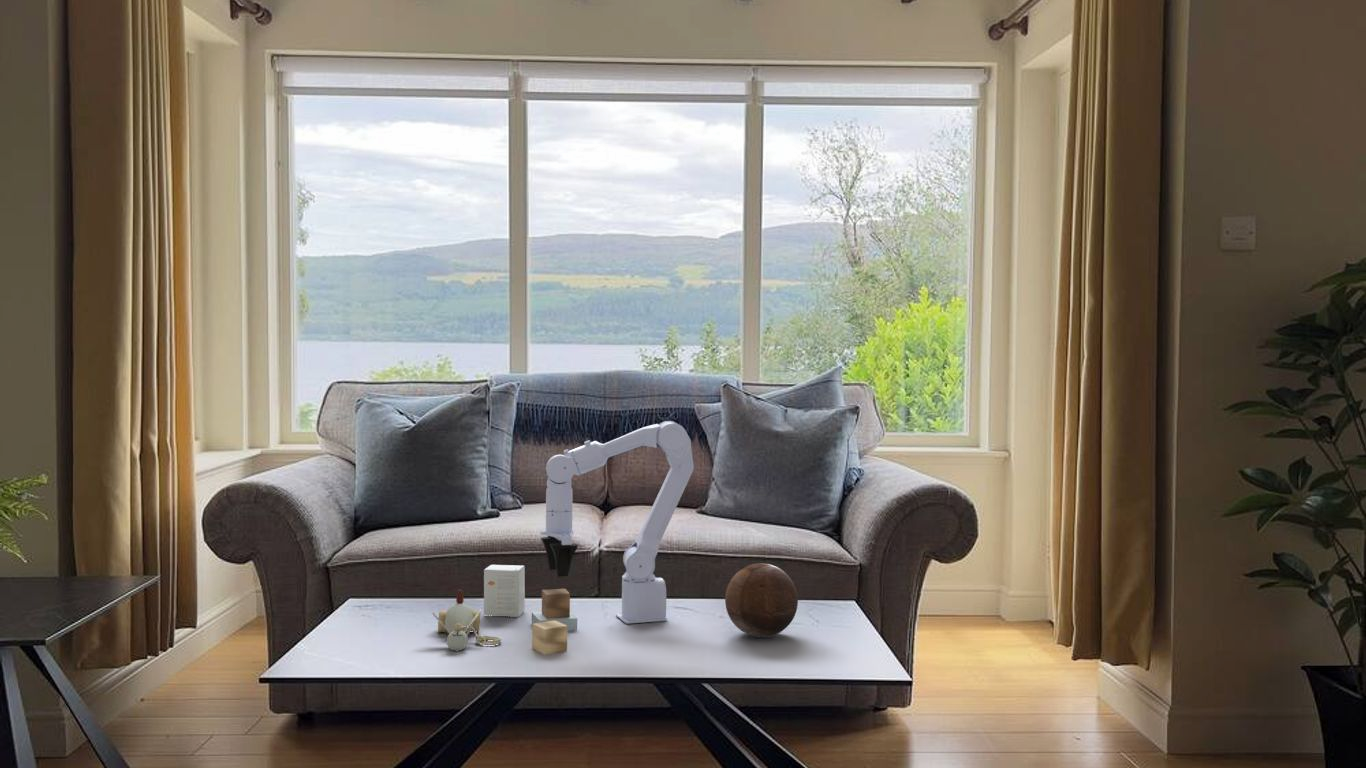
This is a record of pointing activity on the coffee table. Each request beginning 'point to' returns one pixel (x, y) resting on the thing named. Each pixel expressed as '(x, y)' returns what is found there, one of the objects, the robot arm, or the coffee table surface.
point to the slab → (569, 621)
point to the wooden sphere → (761, 600)
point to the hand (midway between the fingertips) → (558, 572)
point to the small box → (504, 590)
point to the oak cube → (549, 637)
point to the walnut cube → (555, 603)
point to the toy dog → (462, 625)
